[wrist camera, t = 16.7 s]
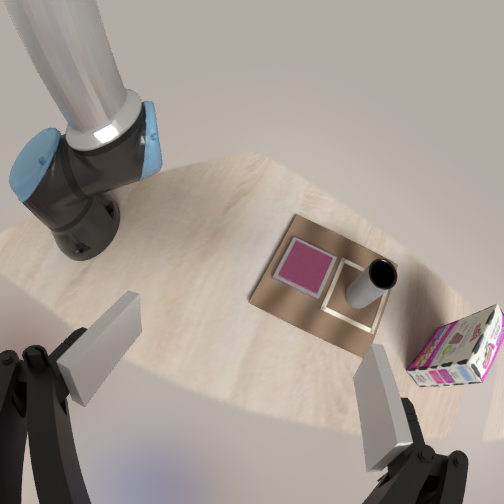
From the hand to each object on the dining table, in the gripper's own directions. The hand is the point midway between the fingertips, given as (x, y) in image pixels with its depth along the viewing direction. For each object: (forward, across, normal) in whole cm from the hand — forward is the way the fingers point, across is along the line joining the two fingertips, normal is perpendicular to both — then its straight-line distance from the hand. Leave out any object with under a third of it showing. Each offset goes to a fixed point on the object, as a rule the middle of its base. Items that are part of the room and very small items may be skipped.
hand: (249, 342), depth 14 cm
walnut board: (+30, +11, -10) cm, 33 cm away
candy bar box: (+23, +32, -17) cm, 43 cm away
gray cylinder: (+29, +15, -10) cm, 34 cm away
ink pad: (+30, +6, -8) cm, 32 cm away
